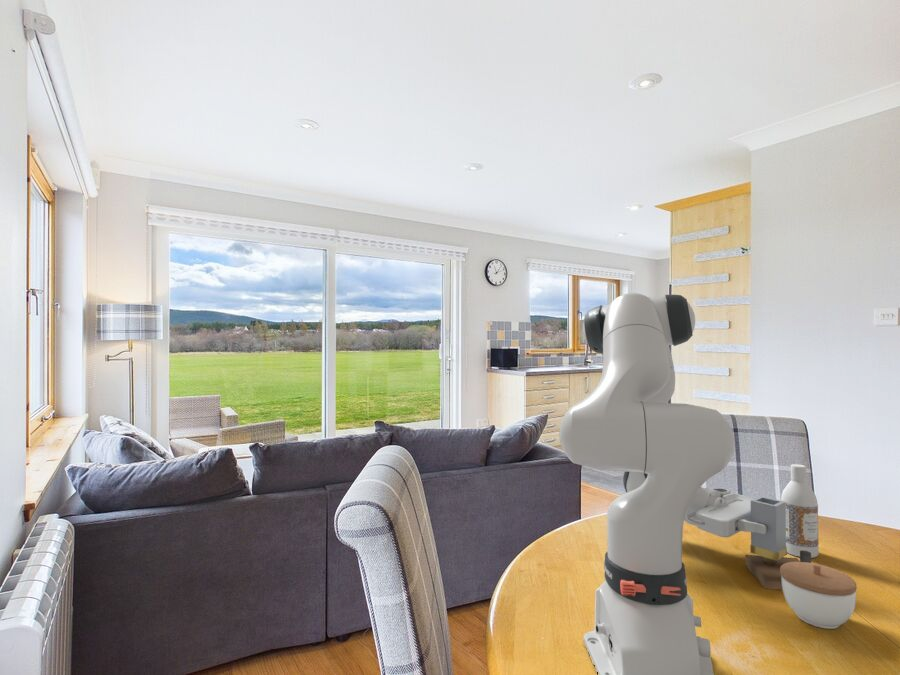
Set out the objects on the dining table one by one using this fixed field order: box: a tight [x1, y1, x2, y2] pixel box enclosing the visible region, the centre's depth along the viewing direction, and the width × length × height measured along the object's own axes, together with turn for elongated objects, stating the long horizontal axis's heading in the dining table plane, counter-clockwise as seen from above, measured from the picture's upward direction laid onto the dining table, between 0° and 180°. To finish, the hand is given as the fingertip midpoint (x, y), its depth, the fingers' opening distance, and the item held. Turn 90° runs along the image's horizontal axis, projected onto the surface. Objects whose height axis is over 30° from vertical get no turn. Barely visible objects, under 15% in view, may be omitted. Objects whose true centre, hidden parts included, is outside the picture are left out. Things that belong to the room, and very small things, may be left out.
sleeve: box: [749, 495, 788, 561], centre depth 104 cm, size 5×5×11 cm
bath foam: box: [780, 463, 820, 559], centre depth 114 cm, size 7×7×20 cm
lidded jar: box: [780, 562, 858, 630], centre depth 87 cm, size 11×11×9 cm
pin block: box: [744, 550, 812, 591], centre depth 101 cm, size 10×10×6 cm
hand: (773, 526), depth 103 cm, fingers closed on sleeve, 5 cm apart
